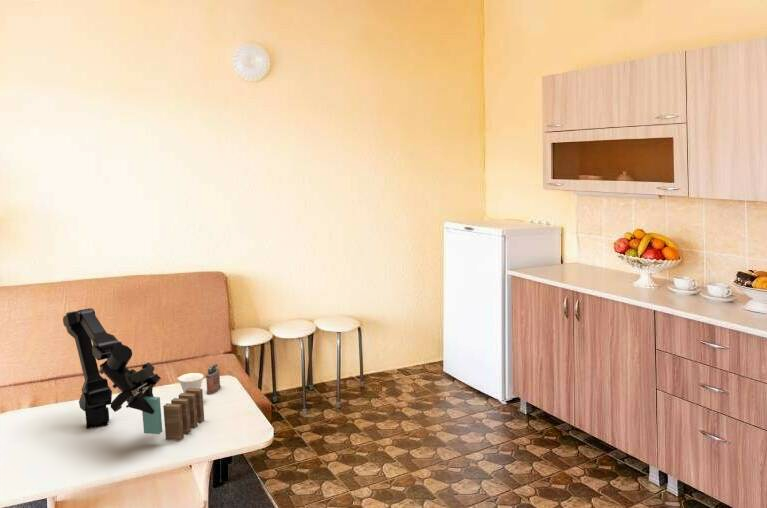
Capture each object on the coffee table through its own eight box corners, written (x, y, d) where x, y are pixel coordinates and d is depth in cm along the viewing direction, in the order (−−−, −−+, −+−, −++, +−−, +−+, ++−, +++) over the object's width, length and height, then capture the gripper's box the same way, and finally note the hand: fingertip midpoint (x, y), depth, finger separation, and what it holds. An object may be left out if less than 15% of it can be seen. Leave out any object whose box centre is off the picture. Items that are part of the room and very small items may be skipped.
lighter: (212, 394, 226) (211, 369, 225) (204, 394, 227) (203, 368, 225) (222, 387, 234) (221, 362, 233) (214, 386, 235) (213, 361, 233)
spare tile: (158, 434, 184) (156, 399, 182) (144, 433, 185) (141, 398, 183) (162, 431, 186) (159, 397, 184) (147, 430, 187) (145, 396, 185)
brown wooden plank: (194, 428, 197) (192, 396, 195) (180, 427, 198) (178, 395, 196) (197, 425, 199) (195, 393, 197) (183, 424, 200) (181, 392, 198)
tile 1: (201, 422, 201) (199, 391, 200) (187, 421, 202) (185, 390, 201) (204, 420, 203) (202, 388, 202) (190, 419, 204) (188, 388, 203)
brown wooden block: (187, 434, 192) (185, 401, 191) (173, 433, 193) (171, 400, 192) (190, 431, 194) (188, 398, 193) (176, 430, 195) (174, 398, 194)
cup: (178, 400, 222) (176, 373, 220) (205, 396, 224) (203, 370, 223) (178, 409, 213) (176, 381, 212) (205, 405, 216) (204, 378, 214)
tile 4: (180, 440, 188) (178, 406, 187) (165, 439, 189) (163, 405, 187) (183, 437, 190) (181, 404, 188) (169, 436, 191) (166, 403, 189)
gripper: (116, 367, 174) (153, 406, 173) (153, 348, 192) (187, 384, 191) (94, 392, 177) (131, 431, 176) (132, 371, 195) (166, 406, 194)
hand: (155, 411), depth 184 cm, fingers closed on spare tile, 2 cm apart
